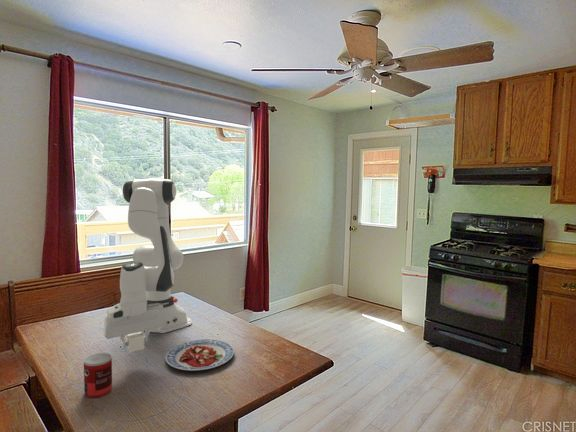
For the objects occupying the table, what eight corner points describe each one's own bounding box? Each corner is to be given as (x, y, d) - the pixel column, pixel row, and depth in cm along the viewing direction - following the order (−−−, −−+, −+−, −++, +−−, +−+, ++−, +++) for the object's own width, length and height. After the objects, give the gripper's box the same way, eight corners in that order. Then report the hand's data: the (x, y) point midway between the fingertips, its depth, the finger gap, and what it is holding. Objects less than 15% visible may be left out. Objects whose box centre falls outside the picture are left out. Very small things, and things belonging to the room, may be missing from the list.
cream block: (140, 343, 131) (140, 330, 131) (144, 348, 127) (143, 335, 127) (126, 347, 128) (126, 334, 128) (129, 352, 124) (129, 338, 124)
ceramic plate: (150, 366, 128) (150, 359, 127) (193, 340, 152) (193, 333, 151) (209, 382, 118) (209, 373, 118) (245, 350, 142) (245, 343, 142)
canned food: (91, 385, 114) (90, 353, 114) (116, 384, 115) (115, 352, 114) (79, 398, 107) (78, 364, 106) (106, 398, 108) (105, 363, 107)
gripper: (160, 299, 135) (161, 333, 136) (101, 310, 123) (103, 347, 124) (165, 303, 130) (166, 339, 131) (104, 315, 118) (106, 354, 119)
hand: (135, 343), depth 127 cm, fingers closed on cream block, 5 cm apart
